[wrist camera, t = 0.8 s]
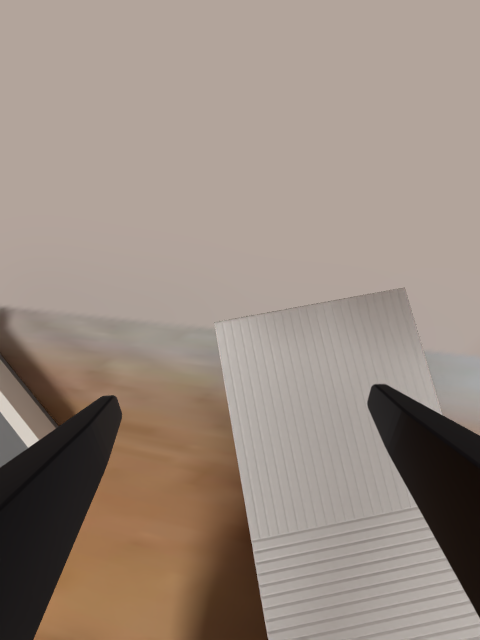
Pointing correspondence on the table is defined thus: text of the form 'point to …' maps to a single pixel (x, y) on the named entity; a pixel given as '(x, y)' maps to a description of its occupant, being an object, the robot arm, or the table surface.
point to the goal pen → (19, 415)
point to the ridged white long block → (335, 474)
